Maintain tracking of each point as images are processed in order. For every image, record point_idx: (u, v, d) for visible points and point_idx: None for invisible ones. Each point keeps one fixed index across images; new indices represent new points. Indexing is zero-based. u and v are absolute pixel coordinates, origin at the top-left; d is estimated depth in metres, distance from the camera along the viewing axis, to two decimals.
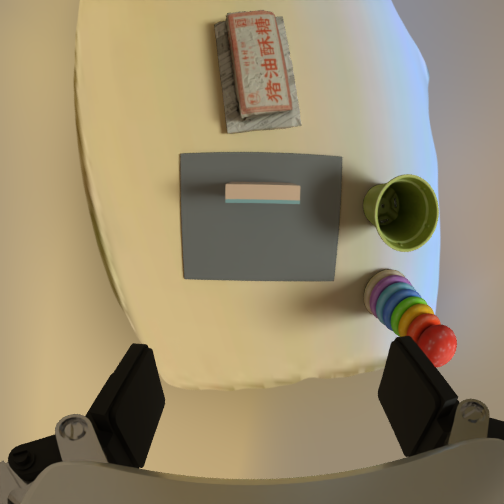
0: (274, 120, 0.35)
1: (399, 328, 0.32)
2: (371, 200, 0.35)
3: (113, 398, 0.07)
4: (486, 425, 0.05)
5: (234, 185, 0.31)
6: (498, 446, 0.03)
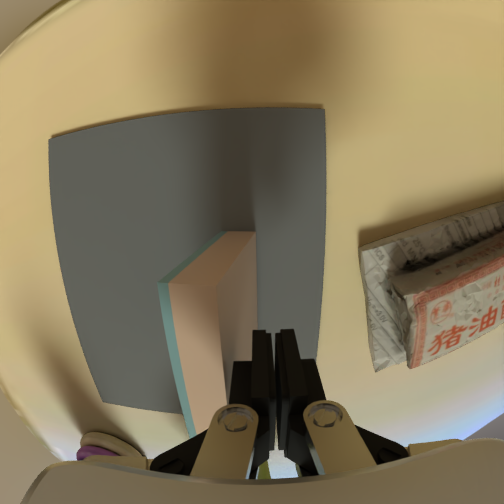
0: (386, 331, 0.18)
1: None
2: None
3: (268, 380, 0.08)
4: (348, 420, 0.06)
5: (214, 314, 0.09)
6: (498, 446, 0.03)
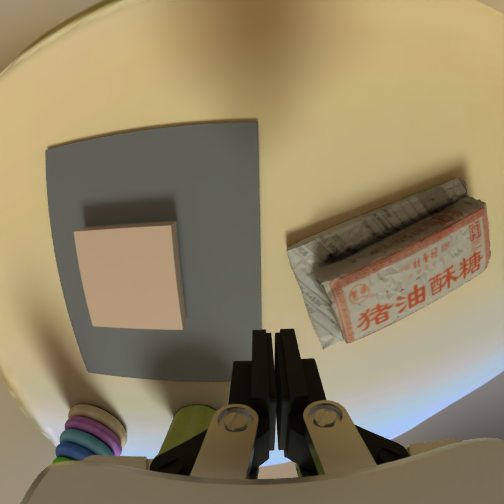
0: (323, 313, 0.23)
1: None
2: None
3: (268, 380, 0.08)
4: (348, 420, 0.06)
5: (76, 243, 0.19)
6: (498, 446, 0.03)
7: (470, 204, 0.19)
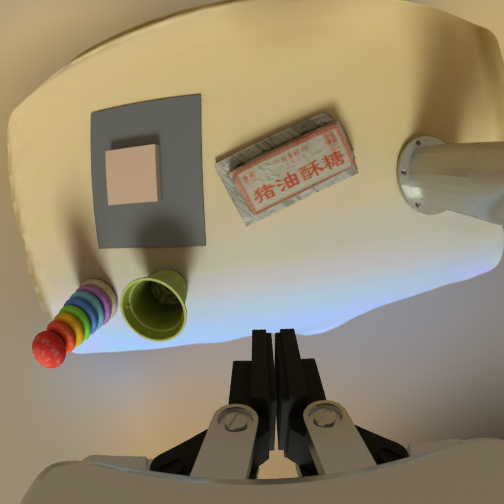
0: (241, 201, 0.40)
1: (61, 313, 0.34)
2: (163, 275, 0.39)
3: (268, 380, 0.08)
4: (348, 420, 0.06)
5: None
6: (498, 446, 0.03)
7: (330, 124, 0.35)
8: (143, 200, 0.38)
